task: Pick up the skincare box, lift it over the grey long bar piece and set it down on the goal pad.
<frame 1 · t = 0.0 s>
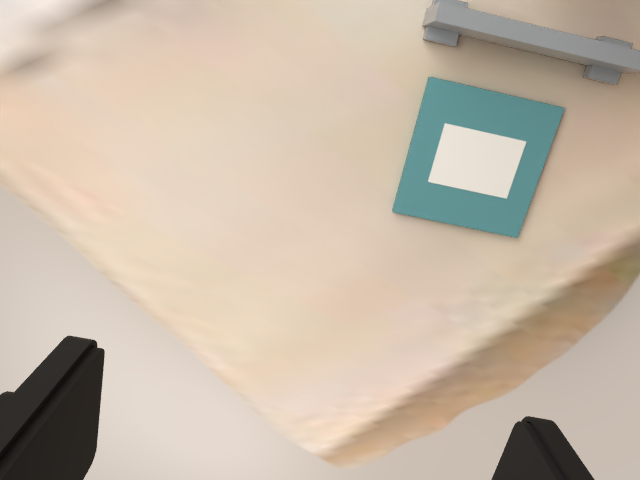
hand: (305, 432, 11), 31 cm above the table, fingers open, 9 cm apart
grey long bar piece: (525, 41, 37), on the table
goal pad: (474, 160, 40), on the table
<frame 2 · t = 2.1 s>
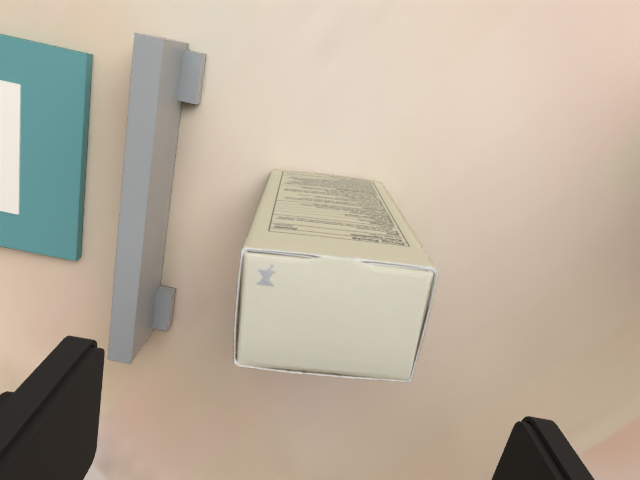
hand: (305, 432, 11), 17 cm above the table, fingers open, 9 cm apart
skincare box: (325, 211, 27), on the table
grey long bar piece: (159, 196, 27), on the table
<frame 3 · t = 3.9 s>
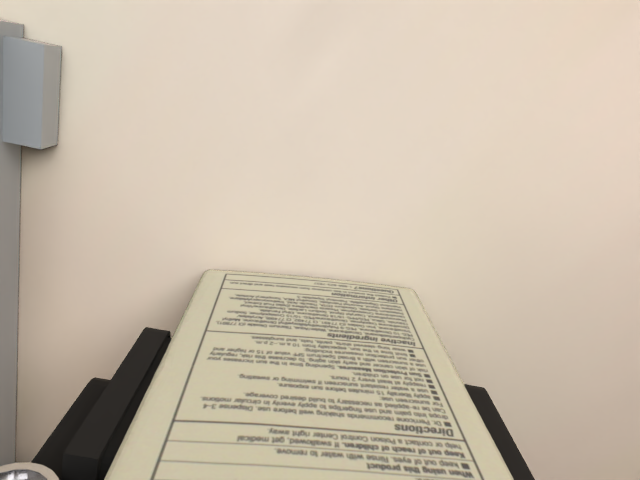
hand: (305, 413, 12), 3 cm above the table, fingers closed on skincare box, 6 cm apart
skincare box: (309, 338, 15), on the table, touching gripper
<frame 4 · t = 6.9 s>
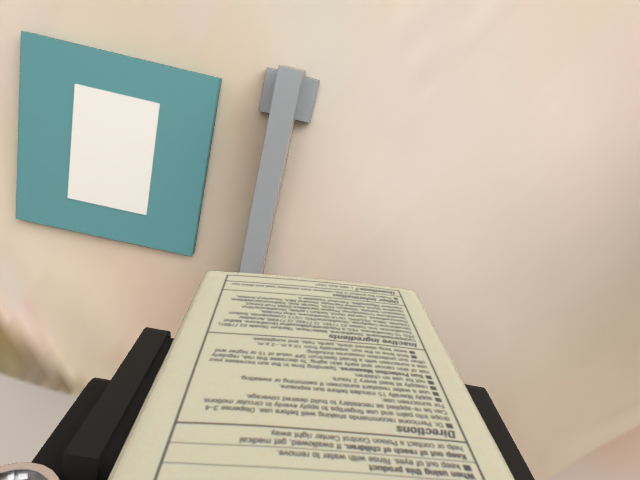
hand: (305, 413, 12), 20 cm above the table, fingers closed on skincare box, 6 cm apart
skincare box: (310, 339, 15), point 17 cm above the table, touching gripper
grey long bar piece: (268, 200, 31), on the table
goal pad: (116, 150, 30), on the table
when the fingers open (5 cm above the table, at t = 9.9 s): skincare box moves 1 cm, resting on goal pad.
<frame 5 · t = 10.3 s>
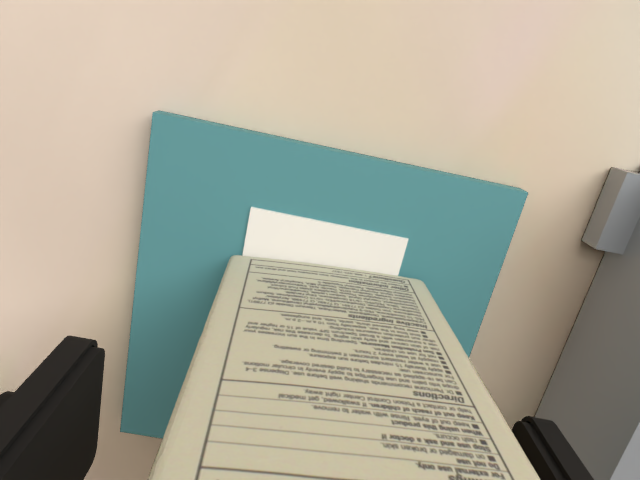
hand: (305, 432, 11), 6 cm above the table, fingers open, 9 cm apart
skincare box: (323, 323, 16), point 1 cm above the table, touching goal pad
grey long bar piece: (564, 387, 17), on the table
goal pad: (307, 313, 16), on the table
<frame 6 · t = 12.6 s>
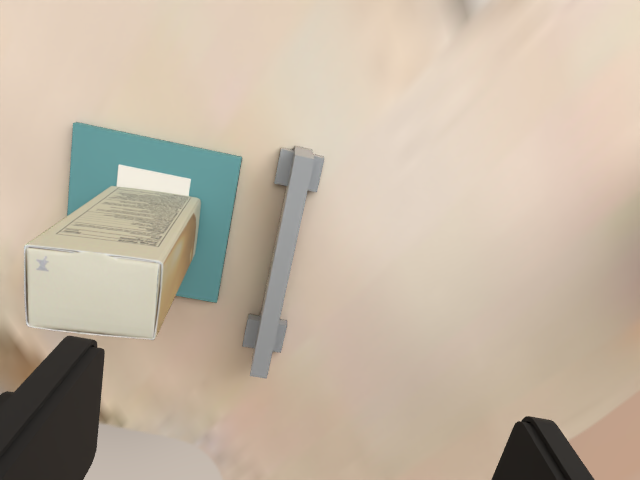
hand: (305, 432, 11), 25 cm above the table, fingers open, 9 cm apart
skincare box: (157, 219, 34), point 1 cm above the table, touching goal pad
grey long bar piece: (281, 254, 36), on the table
goal pad: (152, 216, 35), on the table
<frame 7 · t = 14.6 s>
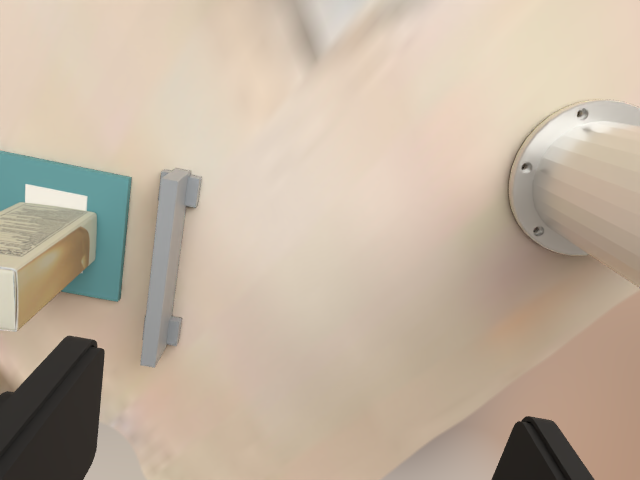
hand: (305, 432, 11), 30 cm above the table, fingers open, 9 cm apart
skincare box: (62, 230, 40), point 1 cm above the table, touching goal pad
grey long bar piece: (171, 260, 42), on the table
goal pad: (58, 227, 41), on the table
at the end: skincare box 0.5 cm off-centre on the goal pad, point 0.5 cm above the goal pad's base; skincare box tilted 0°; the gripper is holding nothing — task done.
